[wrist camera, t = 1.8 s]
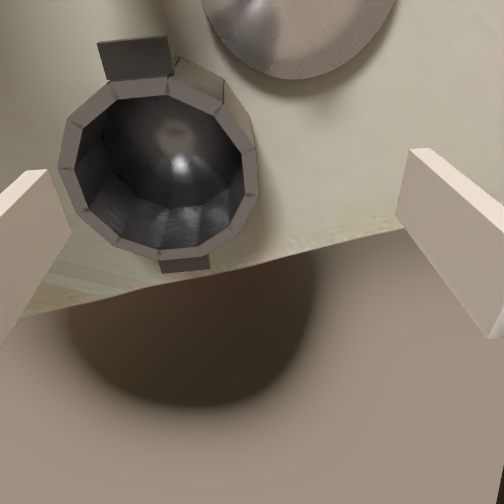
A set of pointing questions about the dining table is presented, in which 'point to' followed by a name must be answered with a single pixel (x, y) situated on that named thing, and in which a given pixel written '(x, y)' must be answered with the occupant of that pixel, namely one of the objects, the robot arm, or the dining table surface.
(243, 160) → the pot
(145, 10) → the dining table surface
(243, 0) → the lid
